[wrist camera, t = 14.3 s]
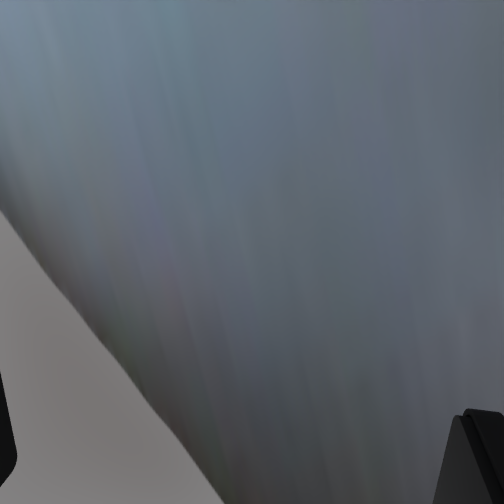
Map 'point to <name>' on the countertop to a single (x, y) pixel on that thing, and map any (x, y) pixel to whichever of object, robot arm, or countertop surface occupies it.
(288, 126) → the countertop surface
